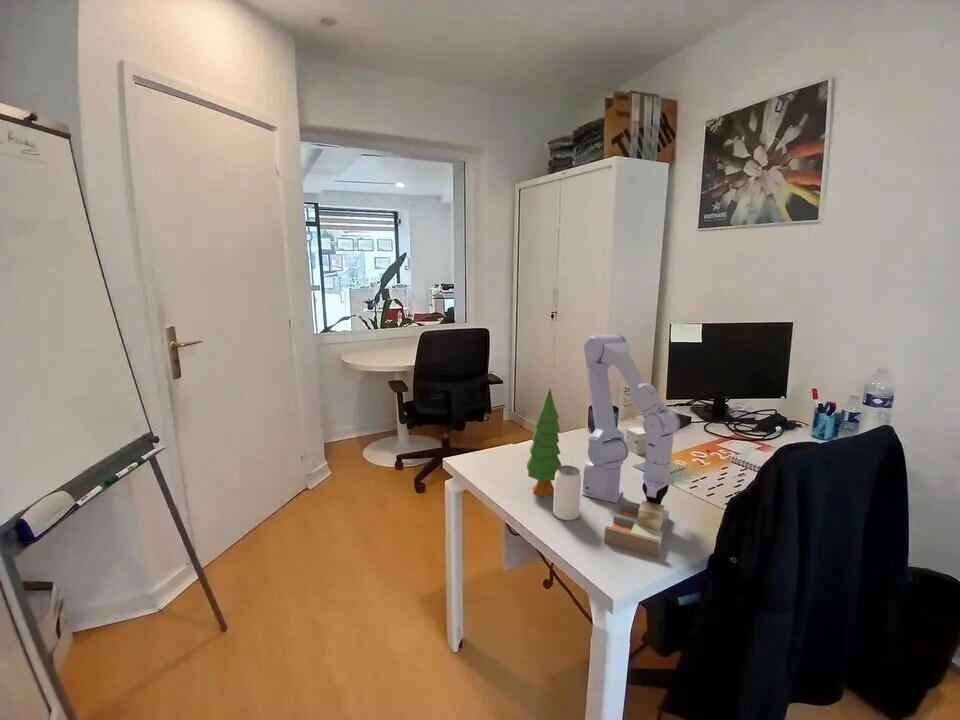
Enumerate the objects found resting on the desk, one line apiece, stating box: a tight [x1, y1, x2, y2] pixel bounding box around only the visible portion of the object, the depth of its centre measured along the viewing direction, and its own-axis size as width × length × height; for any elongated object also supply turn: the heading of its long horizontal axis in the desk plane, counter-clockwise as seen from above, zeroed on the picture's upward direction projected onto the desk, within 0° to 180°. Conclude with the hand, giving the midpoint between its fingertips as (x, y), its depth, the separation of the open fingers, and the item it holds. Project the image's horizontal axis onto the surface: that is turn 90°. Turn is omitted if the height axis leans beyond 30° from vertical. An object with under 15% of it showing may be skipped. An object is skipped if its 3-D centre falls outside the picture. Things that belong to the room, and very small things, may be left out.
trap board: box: [603, 499, 670, 558], centre depth 112 cm, size 12×18×4 cm, turn 152°
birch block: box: [637, 500, 665, 531], centre depth 111 cm, size 5×5×4 cm
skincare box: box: [625, 426, 647, 455], centre depth 161 cm, size 6×6×7 cm
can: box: [552, 464, 582, 522], centre depth 118 cm, size 6×6×12 cm
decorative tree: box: [526, 387, 563, 497], centre depth 128 cm, size 10×9×30 cm
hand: (653, 512), depth 115 cm, fingers closed
